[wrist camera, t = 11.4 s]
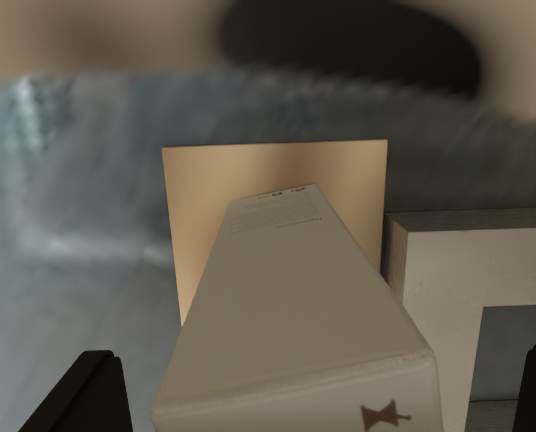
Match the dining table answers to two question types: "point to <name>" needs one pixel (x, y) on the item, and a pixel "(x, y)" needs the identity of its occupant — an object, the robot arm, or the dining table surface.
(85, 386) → the robot arm
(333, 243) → the skincare box
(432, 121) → the dining table surface
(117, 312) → the dining table surface
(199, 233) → the wooden coaster
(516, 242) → the white rectangular frame
